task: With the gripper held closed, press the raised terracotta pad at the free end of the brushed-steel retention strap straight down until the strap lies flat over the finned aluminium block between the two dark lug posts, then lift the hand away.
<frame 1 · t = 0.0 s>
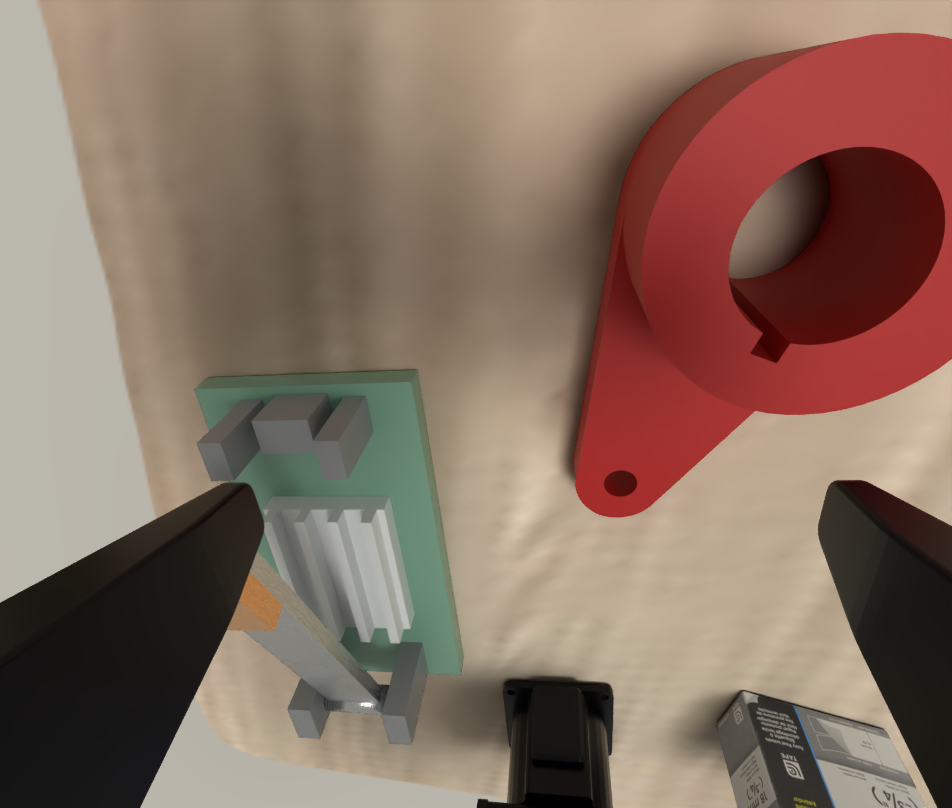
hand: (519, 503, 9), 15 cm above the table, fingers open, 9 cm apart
strap: (301, 652, 24), point 7 cm above the table, hinge at 20.0°
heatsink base: (352, 534, 30), on the table
label tape cartridge: (797, 722, 33), on the table
lever: (690, 314, 22), on the table
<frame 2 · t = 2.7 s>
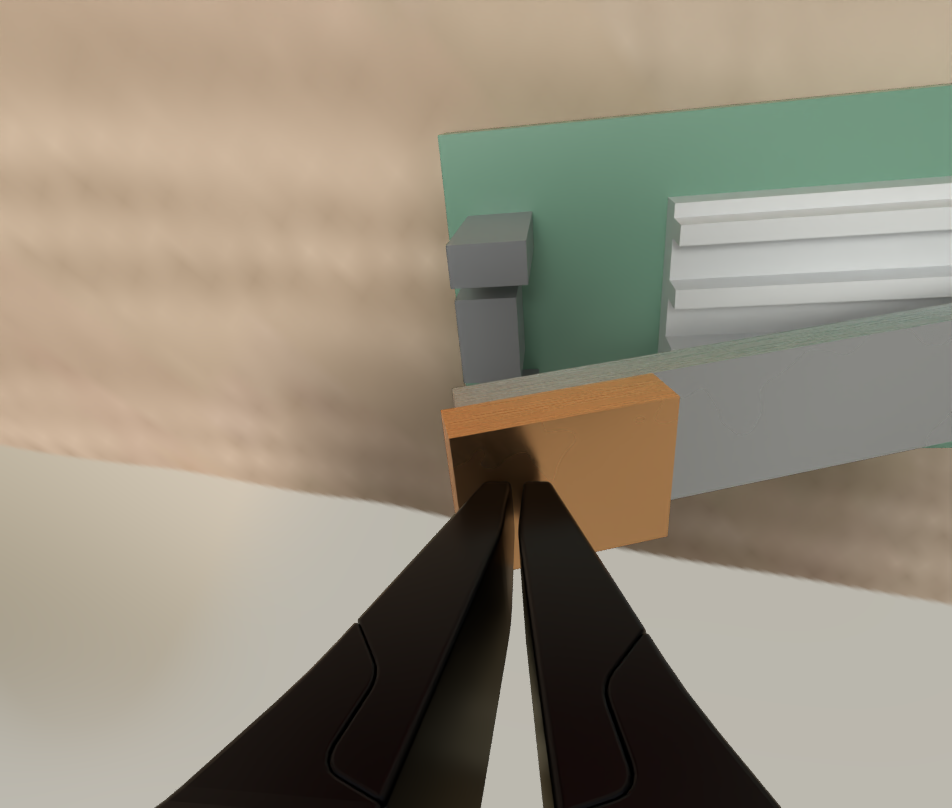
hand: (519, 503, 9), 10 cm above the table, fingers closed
strap: (908, 390, 11), point 7 cm above the table, hinge at 18.4°, touching gripper
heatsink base: (775, 287, 17), on the table
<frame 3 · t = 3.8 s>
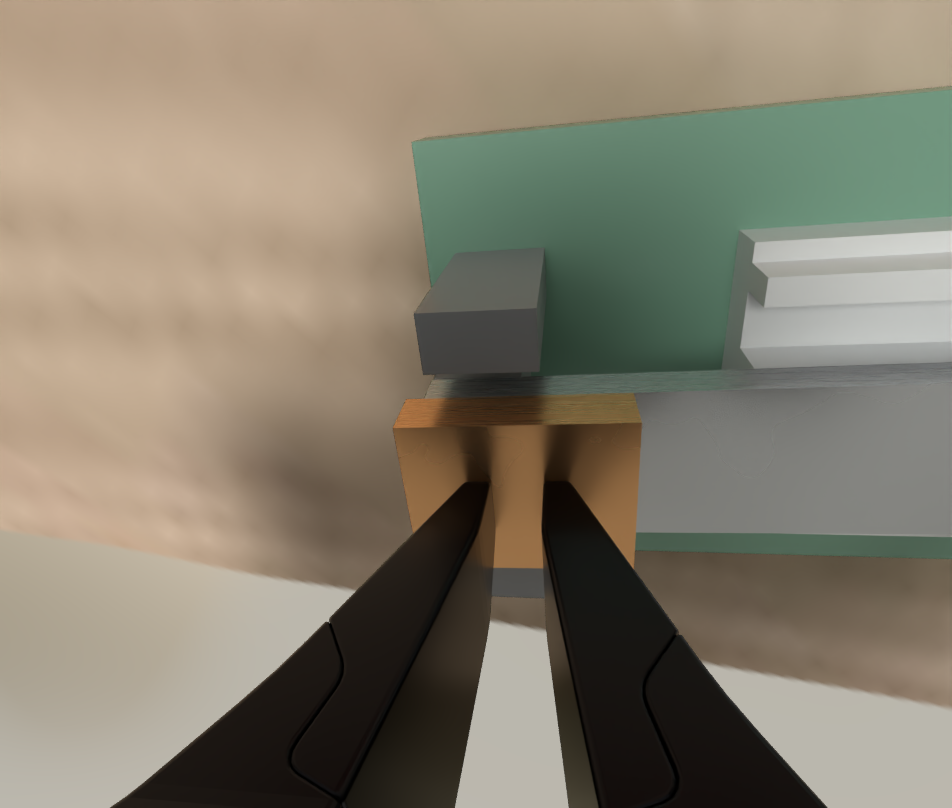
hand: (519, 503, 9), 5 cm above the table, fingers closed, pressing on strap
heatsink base: (876, 347, 12), on the table
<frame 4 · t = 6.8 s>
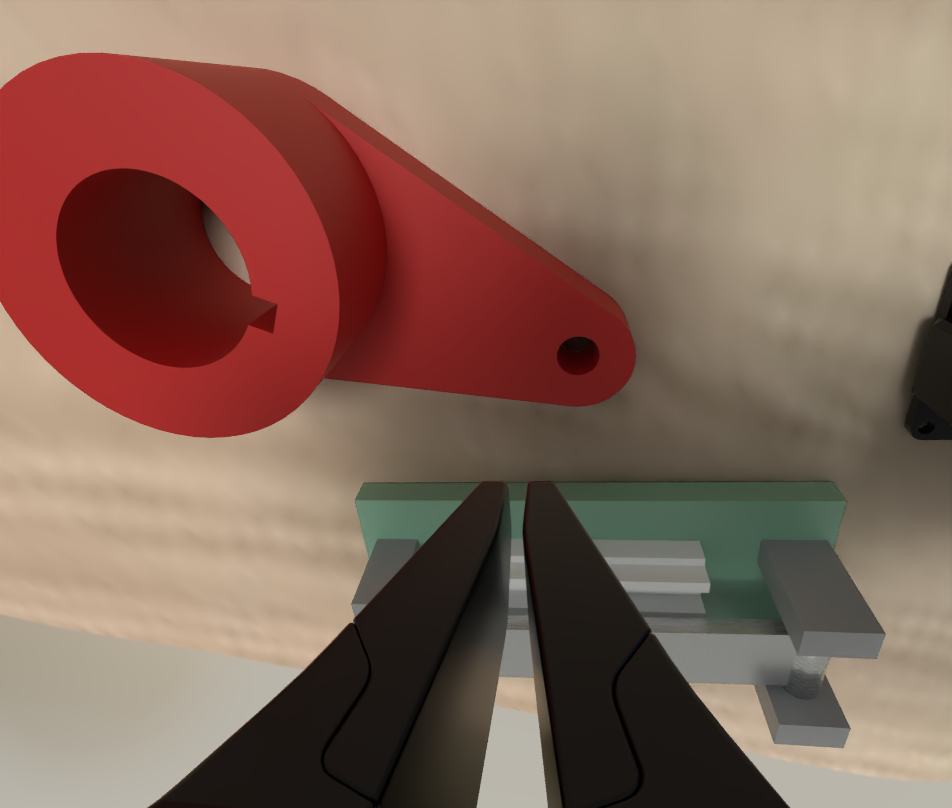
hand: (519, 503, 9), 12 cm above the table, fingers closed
strap: (581, 654, 22), point 4 cm above the table, hinge at 1.2°
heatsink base: (583, 571, 25), on the table
lever: (389, 264, 20), on the table
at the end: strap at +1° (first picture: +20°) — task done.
